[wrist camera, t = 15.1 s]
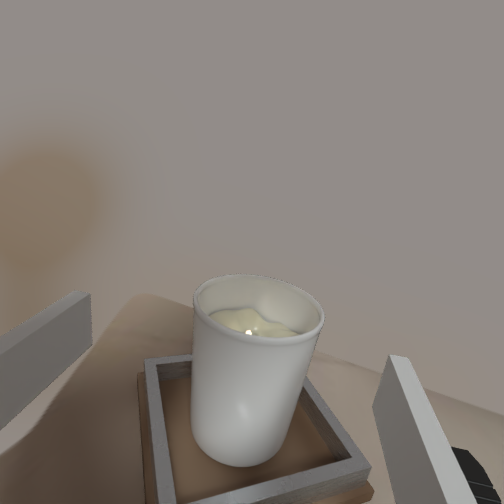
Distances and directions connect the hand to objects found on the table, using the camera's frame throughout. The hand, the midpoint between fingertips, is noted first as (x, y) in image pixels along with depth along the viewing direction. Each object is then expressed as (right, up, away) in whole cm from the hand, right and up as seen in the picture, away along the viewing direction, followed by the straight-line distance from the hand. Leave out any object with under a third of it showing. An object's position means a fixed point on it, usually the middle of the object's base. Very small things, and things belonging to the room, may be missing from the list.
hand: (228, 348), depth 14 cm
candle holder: (0, -11, +14) cm, 18 cm away
